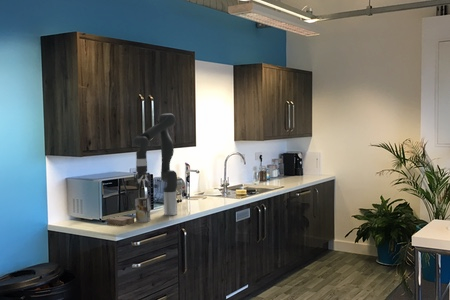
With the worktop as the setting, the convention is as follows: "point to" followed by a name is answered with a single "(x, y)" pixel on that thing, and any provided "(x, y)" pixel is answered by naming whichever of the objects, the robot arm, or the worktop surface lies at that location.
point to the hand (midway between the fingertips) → (142, 188)
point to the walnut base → (120, 220)
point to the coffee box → (142, 209)
